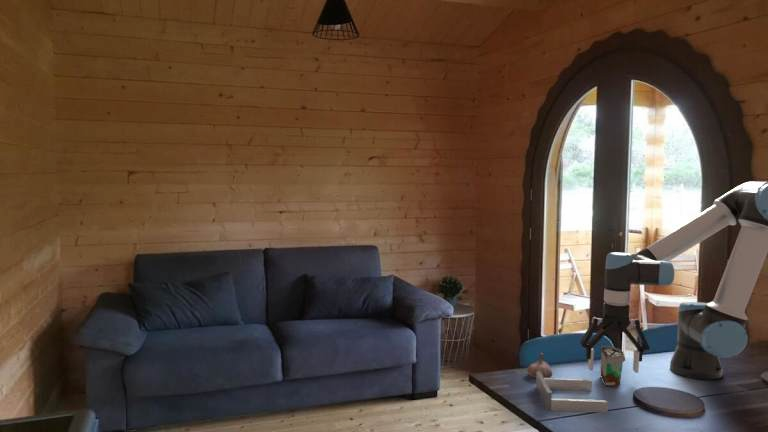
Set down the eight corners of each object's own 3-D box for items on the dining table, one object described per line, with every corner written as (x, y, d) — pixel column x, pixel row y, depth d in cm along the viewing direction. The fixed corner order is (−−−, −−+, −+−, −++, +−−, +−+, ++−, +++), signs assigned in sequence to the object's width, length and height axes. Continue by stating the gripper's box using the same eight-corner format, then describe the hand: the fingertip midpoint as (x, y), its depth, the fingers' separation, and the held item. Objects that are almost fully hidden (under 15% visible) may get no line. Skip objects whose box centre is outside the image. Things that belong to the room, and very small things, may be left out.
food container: (627, 390, 178) (629, 358, 178) (606, 389, 180) (607, 356, 179) (620, 376, 190) (621, 346, 190) (599, 375, 192) (601, 344, 191)
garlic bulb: (556, 378, 188) (557, 354, 188) (540, 382, 185) (540, 357, 184) (539, 371, 195) (539, 347, 194) (522, 375, 191) (523, 351, 191)
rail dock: (590, 389, 179) (591, 373, 179) (607, 412, 162) (607, 395, 162) (536, 387, 181) (536, 371, 180) (546, 410, 164) (547, 392, 163)
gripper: (654, 301, 186) (650, 368, 187) (572, 298, 188) (569, 364, 189) (663, 307, 178) (659, 376, 180) (578, 304, 180) (574, 372, 182)
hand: (613, 370), depth 185 cm, fingers open, 13 cm apart
